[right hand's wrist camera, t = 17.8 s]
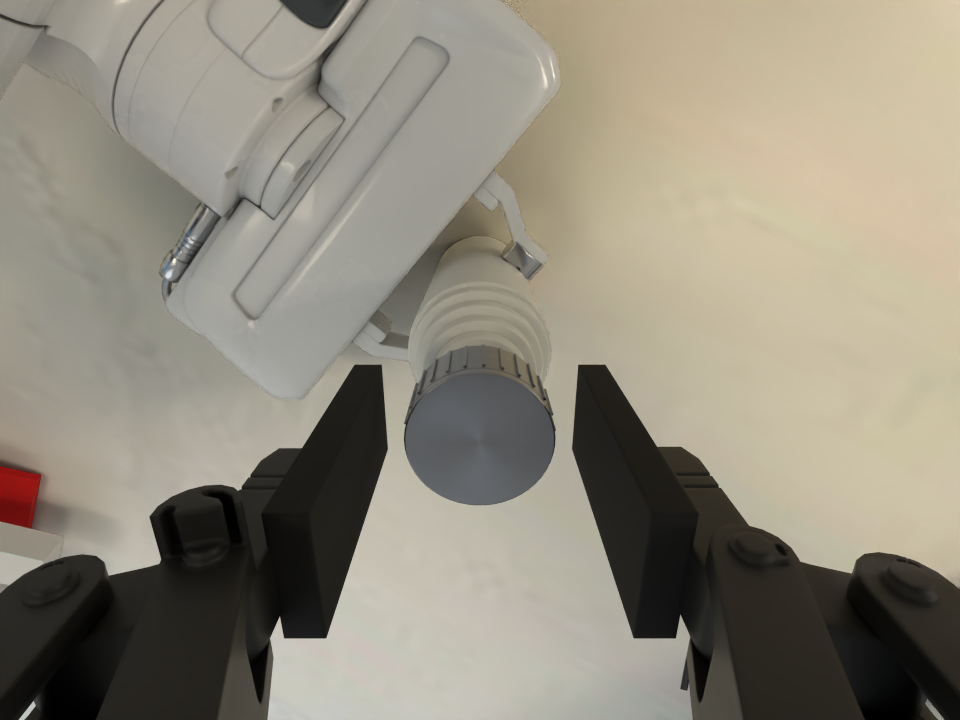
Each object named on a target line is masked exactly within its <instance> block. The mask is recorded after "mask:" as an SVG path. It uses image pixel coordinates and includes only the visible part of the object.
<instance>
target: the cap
mask: <svg viewBox="0 0 960 720" xmlns="http://www.w3.org/2000/svg"><path fill="white" fill-rule="evenodd" d="M552 415H553V412H552V409H551V405H550V402H549V398H548V395H547V392H546V389H544V388H543V385H542V381H541V378H540V376H539V375H538V376H537V375H536V373H535V372H534V371H533V369H532V368H531V365H530V364H529V363H528V364H527V363H526V362H525V361H524V360H522V359H521V358H519V357H518V355H517V354H516V353H515V354H512V353H511V352H509V351H506V350H503V349H502V348H501V347H499V348H496V347H491V346H485V345H482V346H469V347H468V345H467V346H465V347H463V348H460V349H456V350H454V351H451V350H450V351H449V352H448V353H447V354H445V355H443V356H442V357H440V358H439V359H437V358H436V359H435V360H434V363H432V365H431V366H430V367H429V368H428V369H427V370H424V371H423V373H422V377H421V379H420V381H419V383H416V384H415V388H414V391H413V394H412V398H411V401H410V405H409V409H408V412H407V415H406V419H405V423H404V424H406V427H405V434H404V443H405V451H406V455H407V458H408V460H409V463H410V465H411V467H412V469H413V470H414V472H415V474H416V475H417V476H418V477H419V479H420V480H421V481H422V482H423V483H424V484H425V485H426V486H427V487H429V488H430V489H431V490H432V491H434V492H435V493H437V494H439V495H440V496H442V497H445V498H447V499H449V500H452V501H455V502H458V503H463V504H469V505H490V504H497V503H501V502H505V501H507V500H510V499H513V498H515V497H517V496H519V495H521V494H522V493H524V492H526V491H527V490H529V489H530V488H531V487H532V486H533V485H534V484H536V482H537V481H538V480H539V479H540V478H541V477H542V476H543V474H544V473H545V471H546V470H547V468H548V466H549V464H550V462H551V459H552V456H553V453H554V448H555V431H556V430H555V425H554V422H553V418H552Z"/></svg>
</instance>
